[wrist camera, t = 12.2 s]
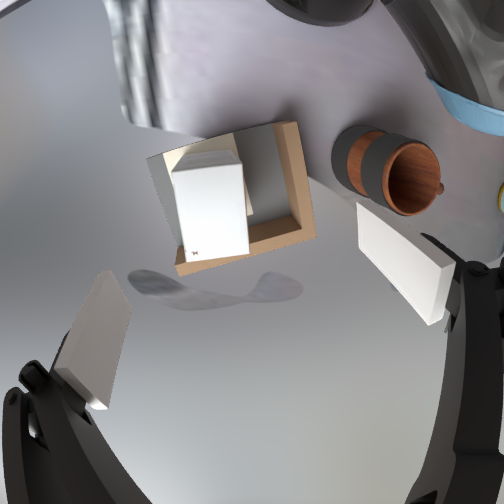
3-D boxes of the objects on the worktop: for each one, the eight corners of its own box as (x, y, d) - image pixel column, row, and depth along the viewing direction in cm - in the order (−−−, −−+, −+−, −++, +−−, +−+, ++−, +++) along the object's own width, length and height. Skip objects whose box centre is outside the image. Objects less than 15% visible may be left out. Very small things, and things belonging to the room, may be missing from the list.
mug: (392, 199, 36) (446, 232, 26) (321, 182, 33) (369, 214, 23) (407, 143, 32) (468, 162, 22) (336, 117, 30) (393, 122, 20)
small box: (237, 214, 33) (251, 256, 24) (190, 220, 32) (186, 265, 23) (232, 147, 29) (244, 161, 20) (181, 153, 29) (169, 171, 19)
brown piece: (147, 158, 29) (137, 165, 24) (283, 120, 29) (296, 121, 25) (182, 255, 35) (179, 276, 31) (302, 221, 35) (316, 237, 31)
